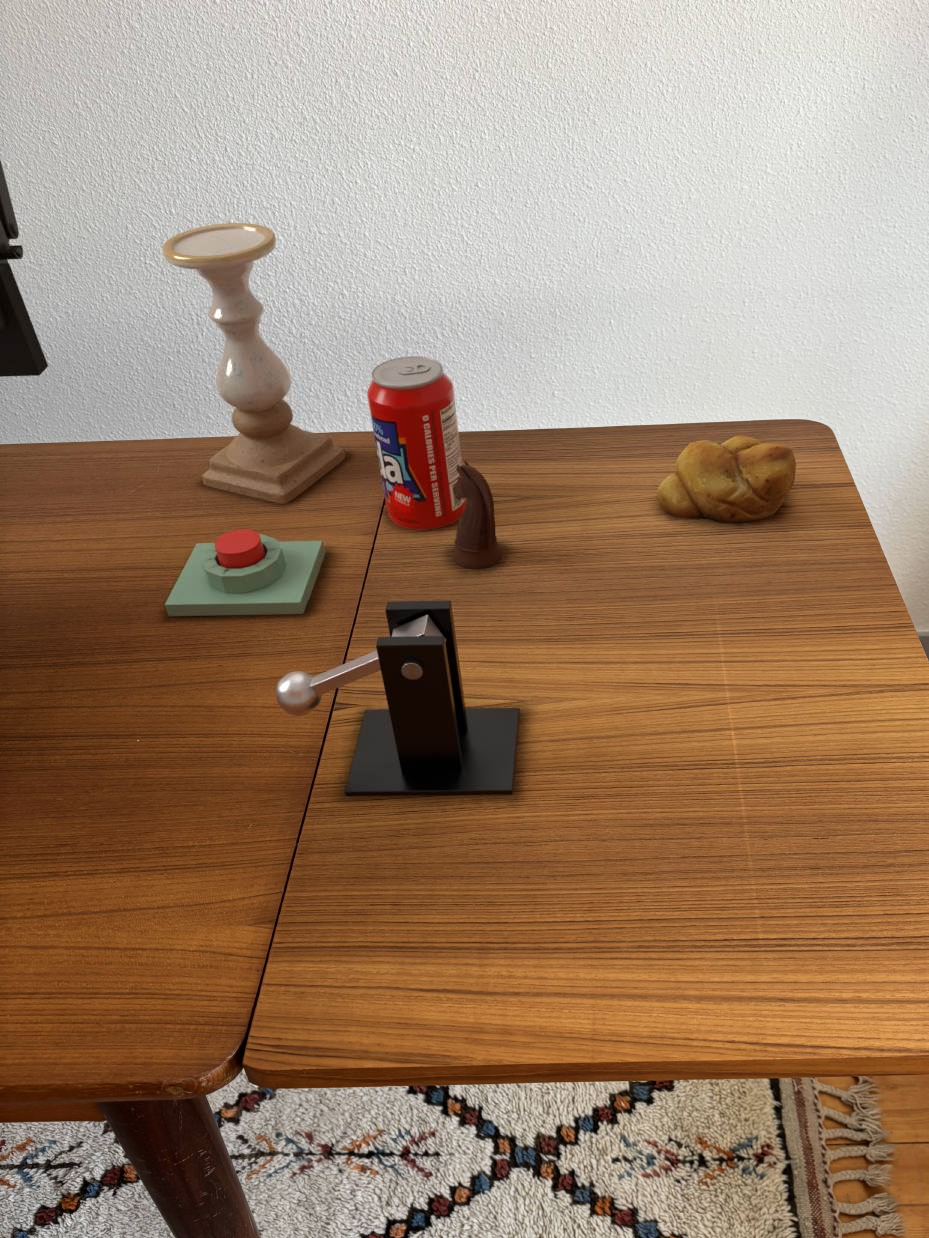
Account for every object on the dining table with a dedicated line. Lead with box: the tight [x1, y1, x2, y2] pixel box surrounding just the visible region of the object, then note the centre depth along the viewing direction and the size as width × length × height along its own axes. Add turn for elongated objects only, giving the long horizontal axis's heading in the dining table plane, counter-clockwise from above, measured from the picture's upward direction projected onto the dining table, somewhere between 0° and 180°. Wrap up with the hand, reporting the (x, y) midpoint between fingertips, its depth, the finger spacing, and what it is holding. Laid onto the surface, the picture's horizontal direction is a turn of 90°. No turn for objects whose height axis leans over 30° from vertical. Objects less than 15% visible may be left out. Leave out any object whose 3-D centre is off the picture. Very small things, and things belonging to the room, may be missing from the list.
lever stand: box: [344, 600, 521, 797], centre depth 74 cm, size 12×9×13 cm
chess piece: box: [452, 460, 502, 570], centre depth 95 cm, size 5×5×10 cm
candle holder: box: [161, 222, 346, 505], centre depth 104 cm, size 11×11×24 cm
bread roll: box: [656, 434, 797, 523], centre depth 101 cm, size 13×10×8 cm
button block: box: [164, 533, 326, 617], centre depth 95 cm, size 12×10×4 cm
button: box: [214, 528, 265, 569], centre depth 93 cm, size 4×4×2 cm
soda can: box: [366, 355, 468, 531], centre depth 100 cm, size 8×8×15 cm
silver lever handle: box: [274, 615, 446, 717], centre depth 73 cm, size 13×3×3 cm, turn 88°
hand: (23, 370), depth 69 cm, fingers closed
